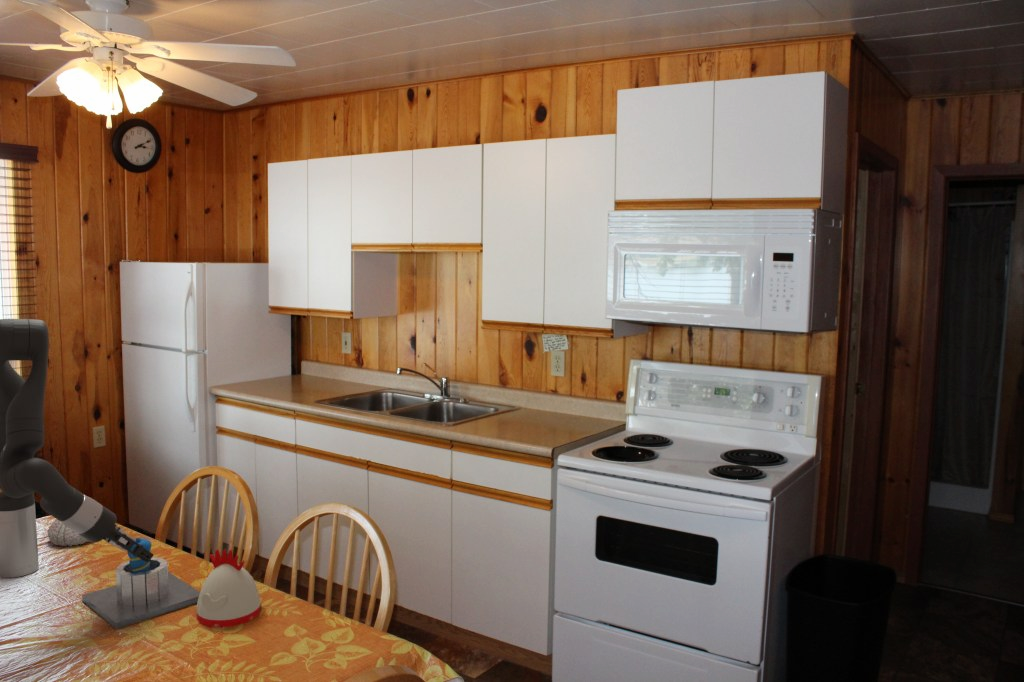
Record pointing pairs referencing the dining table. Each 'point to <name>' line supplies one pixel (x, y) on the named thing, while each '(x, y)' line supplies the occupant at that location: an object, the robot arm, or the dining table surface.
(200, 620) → the kitchen timer
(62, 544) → the sea urchin shell
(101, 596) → the tube on square plate
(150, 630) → the dining table surface
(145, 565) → the ornament
